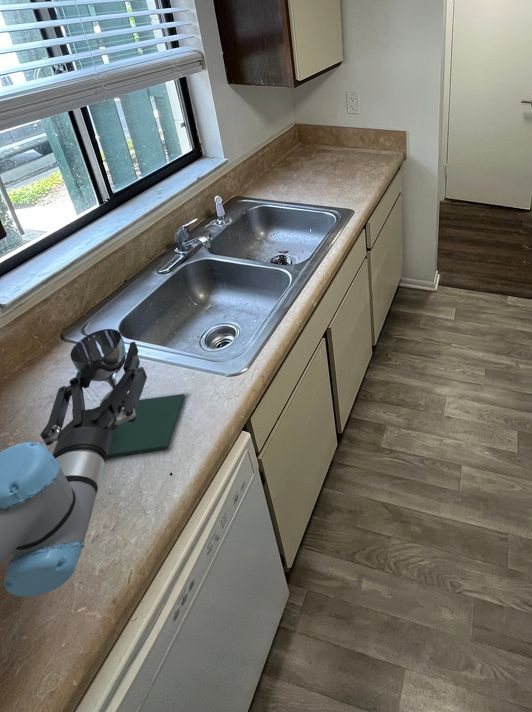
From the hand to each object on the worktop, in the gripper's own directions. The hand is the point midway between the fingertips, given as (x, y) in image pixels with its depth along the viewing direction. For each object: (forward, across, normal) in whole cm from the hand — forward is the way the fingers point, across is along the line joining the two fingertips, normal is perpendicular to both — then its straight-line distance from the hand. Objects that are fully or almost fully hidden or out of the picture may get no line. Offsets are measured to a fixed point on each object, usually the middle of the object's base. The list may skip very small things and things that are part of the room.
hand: (114, 351), depth 88 cm
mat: (-3, 0, -19) cm, 20 cm away
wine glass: (-5, 0, -8) cm, 10 cm away
